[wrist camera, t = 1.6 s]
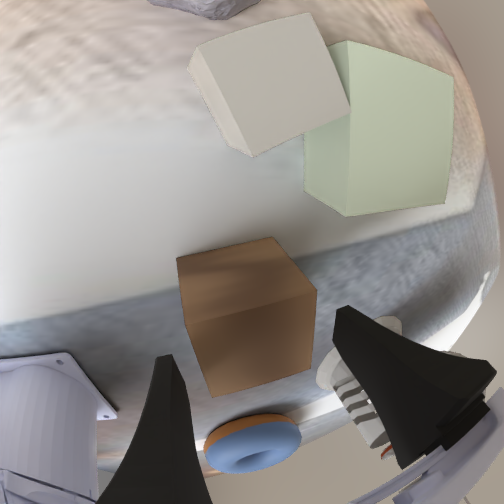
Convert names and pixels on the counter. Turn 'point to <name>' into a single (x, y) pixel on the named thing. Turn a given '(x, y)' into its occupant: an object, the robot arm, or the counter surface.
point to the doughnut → (252, 443)
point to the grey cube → (269, 83)
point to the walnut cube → (247, 314)
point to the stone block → (207, 7)
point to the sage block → (382, 135)
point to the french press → (361, 394)
